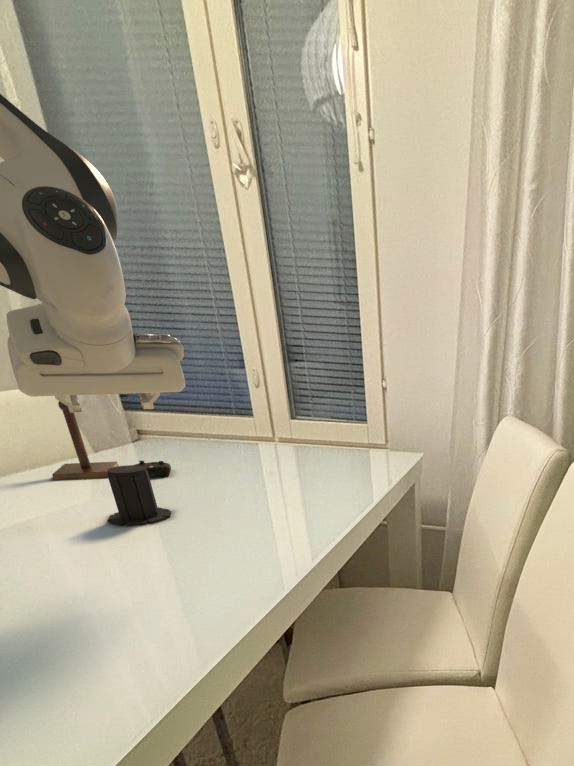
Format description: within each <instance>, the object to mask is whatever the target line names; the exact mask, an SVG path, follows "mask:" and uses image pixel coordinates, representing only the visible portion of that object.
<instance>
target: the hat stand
mask: <svg viewBox="0 0 574 766" xmlns="http://www.w3.org/2000/svg"><path fill="white" fill-rule="evenodd" d="M57 402H58V404H57V405H58V408H59V409H60V410H61V411H62V414H63V417H64V420H65V423H66V426H67V429H68V433H69V435H70V438H71V442H72V444H73V447H74V450H75V454H76V457H77V459H78V462H73V463H71V462H70V463H64V464H62V465H61V466H60V467H59V468H58V469H57V470H55V471H54V472H53V473H52V474H51V475H52V478H53V481H68V480H69V481H70V480H87V479H88V480H89V479H90V480H91V479H108V476H107V475H108V472H107V470H108V469H110V468H113V467H118V466H120V465H119V462H118V461H97V462H90V458H89V456H88V455H89V454H88V452H87V448H86V446H85V442H84V440H83V436H82V433H81V431H80V427H79V424H78V420H77V418H76V414H75V412H73V413H70V411H69V408H68V406H66V405H65V404H63V403H62V402H60V401H57Z"/></svg>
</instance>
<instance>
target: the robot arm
mask: <svg viewBox="0 0 574 766" xmlns="http://www.w3.org/2000/svg"><path fill="white" fill-rule="evenodd" d="M0 158H1V159H2V160H3V161H0V286H1V287H3V288H6V289H7V290H10V291H12V292H14V293H15V294H18V295H21V296H22V297H25V298H28V299H30V300H36V299H37V300H38V301H40V303H39V304H35V305H31V306H26V307H22V308H17V309H11V310H9V311H7V312H6V315H5V316H6V324H7V330H8V337H7V350H8V356H9V360H10V363H11V367H12V372H13V374H14V378H15V381H16V384H17V387H18V389H19V391H20V392H21V393H22V394H24V395H27V396H29V397H31V398H34V397H35V398H37V397H54V398H55V400H56V401H57V402H59V401H60V402H62V403H63V404H65V405H66V406H68V408H69V411H70V413H73V412H74V413H82V408H81V405H80V402H79V398H78V396H93V395H95V396H96V395H122V394H123V395H124V394H125V395H126V394H128V395H129V394H138V395H139V399H140V404H141V406H142V409H143V410H154V409H155V406H154V403H155V402H156V401H157V399H158V398H159V397H160V396H161V393H180V392H182V391H183V390H184V389H186V379H185V375H184V371H183V367H182V364H181V361H182V360H183V358H184V355H185V349H184V345H183V343H182V341H180V340H179V339H177V338H176V337H171V335H170V334H166V333H159V334H150V333H149V334H148V333H134V332H133V325H132V319H131V316H130V313H129V310H128V308H127V307H126V305H125V304H126V300H127V291H126V284H125V279H124V273H123V270H122V265H121V261H120V257H119V254H118V251H117V248H116V246H115V242H116V240H117V236H118V231H119V211H118V206H117V201H116V197H115V195H114V193H113V190H112V189H111V186H110V185H109V184H108V182H107V180H106V179H105V178H104V176H103V175H102V174H101V173H100V171H99V170H98V168H96V167H95V166H94V165H93V164H92V163H91V162H90V161H89V160H87V159H86V157H84V156H83V155H82V154H81V153H79V152H78V151H76V150H75V149H74V148H72V147H70V146H69V145H68V144H66V143H64V142H63V141H62V140H60V139H58V138H57V137H55V136H54V135H52V134H50V132H48V131H46V130H45V129H44V128H42V127H41V126H40V125H39V124H37V123H36V122H35V121H34V120H32V119H31V118H30V117H29V116H27V114H25V113H24V112H23V111H21V110H20V109H19V108H18V107H17V106H16V105H14V104H13V103H12V101H11V102H10V100H9V99H7V98H6V97H5V96H4V95H2V93H0Z"/></svg>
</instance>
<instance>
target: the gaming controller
mask: <svg viewBox="0 0 574 766" xmlns="http://www.w3.org/2000/svg"><path fill="white" fill-rule="evenodd" d="M134 465H139V466H144V467H146V470H148V474H149V477H152V476H161V475H162V476H163V477H164V478H166V477H167V478H168V477H169V476H170V473H171V471H172V467H171V464H169V463H168V462H164V461H162V460H159V461H151V462H145V460H139V461H138V463H136V464H134Z"/></svg>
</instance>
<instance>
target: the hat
mask: <svg viewBox="0 0 574 766" xmlns="http://www.w3.org/2000/svg"><path fill="white" fill-rule="evenodd" d="M107 472H108V475H107V476H108V478H107V479H108V482H109V485H110V489H111V492H112V495H113V498H114V502H115V505H116V508H117V511H118V512H114V513H113V514H110V515H109V517H108V518H107V523H109V525H114V526H118V527H124V526H126V527H139V526H147V524H150V525H154V524H157V523H160V522H163V521H166V520H168V519H170V518H171V515H172V511H171V510H170V509H167V508H163V507H158V505H157V501H156V500H157V499H156V497H155V496H156V495H155V493H154V488H153V485H152V482H151V479H150V476H149V474H148V470H146V467H144V466H139V465H135V464H130V465H129V464H128V465H119V466H118V467H113V468H110V469H108V470H107Z"/></svg>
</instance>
